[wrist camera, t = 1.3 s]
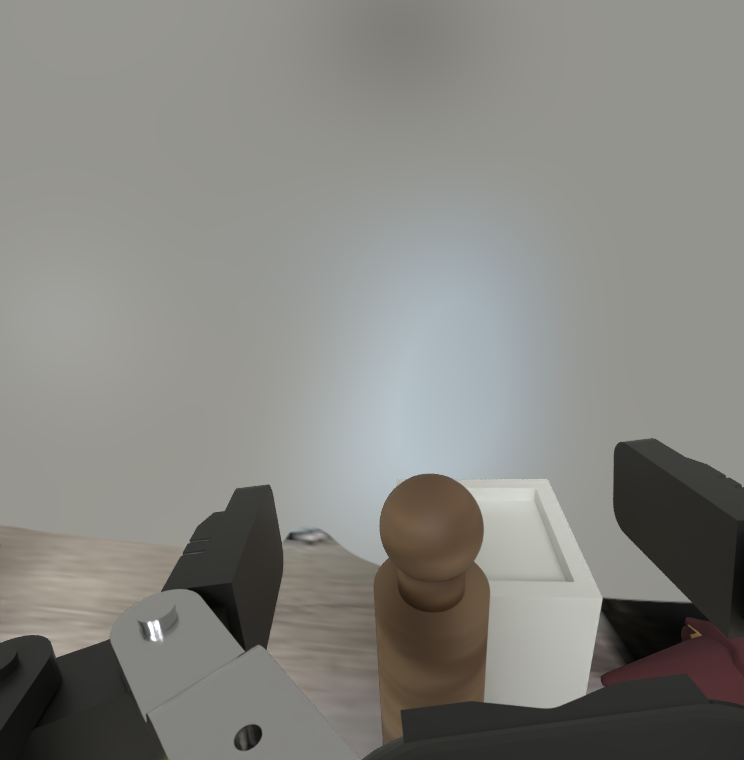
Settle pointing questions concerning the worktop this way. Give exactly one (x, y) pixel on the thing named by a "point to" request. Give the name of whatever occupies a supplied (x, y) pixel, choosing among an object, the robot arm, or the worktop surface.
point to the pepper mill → (430, 599)
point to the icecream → (694, 662)
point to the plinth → (534, 596)
